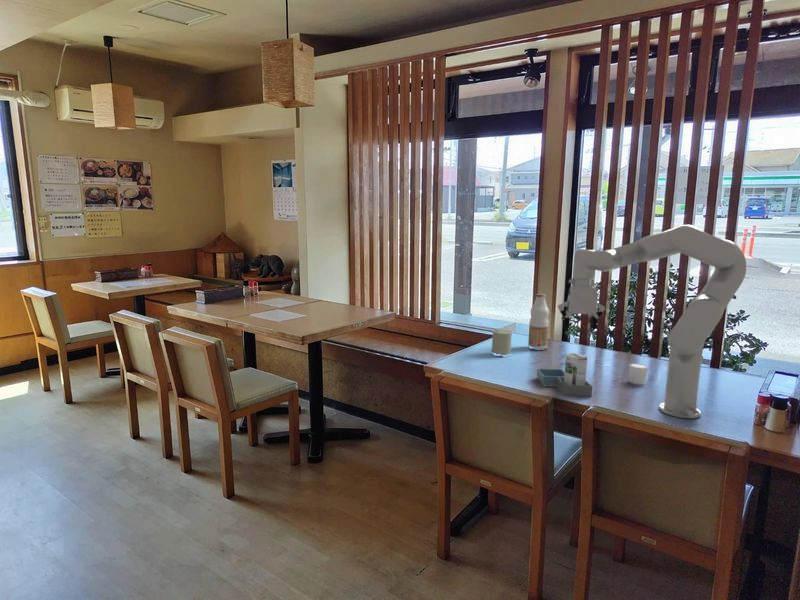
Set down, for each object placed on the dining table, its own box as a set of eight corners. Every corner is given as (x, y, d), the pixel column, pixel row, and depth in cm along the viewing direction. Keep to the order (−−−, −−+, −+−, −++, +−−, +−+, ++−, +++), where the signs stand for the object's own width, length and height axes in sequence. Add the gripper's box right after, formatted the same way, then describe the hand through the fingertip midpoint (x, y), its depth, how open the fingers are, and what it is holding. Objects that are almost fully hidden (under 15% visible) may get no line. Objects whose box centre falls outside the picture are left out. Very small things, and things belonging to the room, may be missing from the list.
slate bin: (568, 386, 199) (569, 376, 198) (543, 386, 199) (543, 376, 198) (560, 378, 208) (561, 369, 208) (536, 378, 209) (537, 368, 208)
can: (489, 352, 248) (490, 328, 246) (507, 352, 249) (508, 328, 247) (494, 357, 239) (495, 332, 237) (513, 357, 240) (514, 332, 238)
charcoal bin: (591, 396, 188) (592, 386, 187) (564, 396, 188) (565, 385, 187) (582, 387, 198) (583, 377, 197) (556, 387, 198) (557, 377, 197)
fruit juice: (527, 350, 254) (531, 295, 249) (528, 345, 263) (531, 292, 258) (547, 351, 251) (550, 296, 247) (547, 347, 260) (550, 293, 256)
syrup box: (562, 390, 194) (564, 353, 192) (574, 388, 196) (577, 352, 194) (572, 395, 189) (575, 357, 187) (585, 393, 191) (587, 356, 189)
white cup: (636, 385, 201) (637, 368, 200) (624, 380, 208) (625, 363, 207) (650, 384, 203) (652, 367, 202) (638, 379, 209) (639, 362, 208)
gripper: (562, 283, 183) (559, 329, 186) (610, 284, 183) (606, 330, 186) (557, 281, 191) (553, 325, 194) (603, 282, 190) (599, 326, 193)
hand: (579, 328), depth 190 cm, fingers open, 9 cm apart
